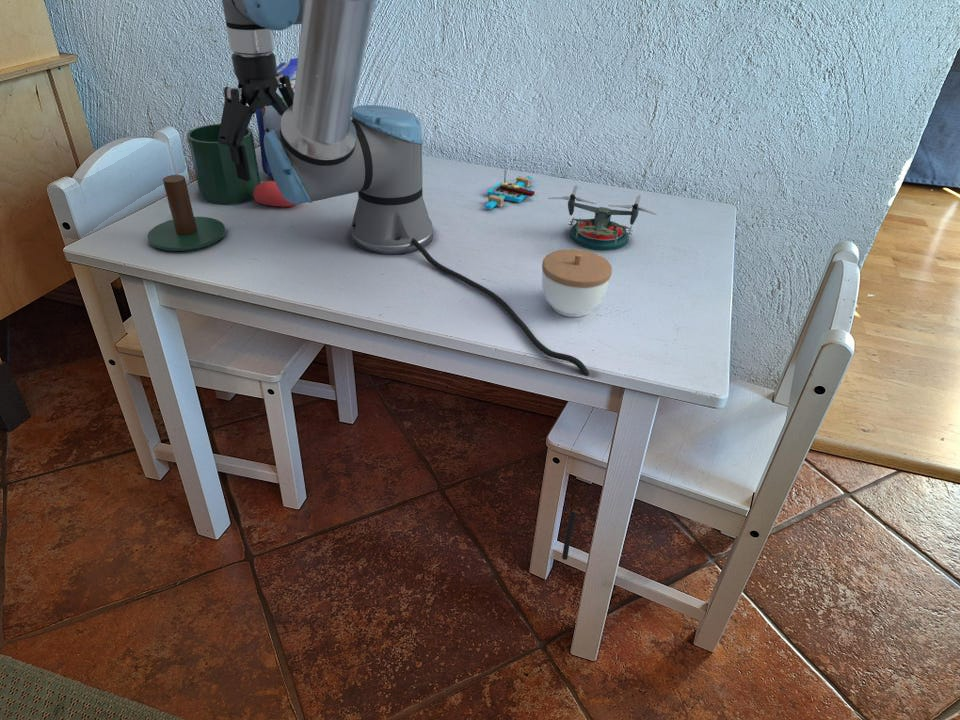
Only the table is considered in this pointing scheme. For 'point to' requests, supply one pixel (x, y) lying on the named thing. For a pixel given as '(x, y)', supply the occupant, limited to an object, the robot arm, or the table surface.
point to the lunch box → (273, 111)
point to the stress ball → (270, 195)
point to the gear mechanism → (509, 191)
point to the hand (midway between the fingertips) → (270, 168)
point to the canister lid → (183, 222)
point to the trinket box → (575, 281)
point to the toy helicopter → (600, 224)
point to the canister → (221, 167)
